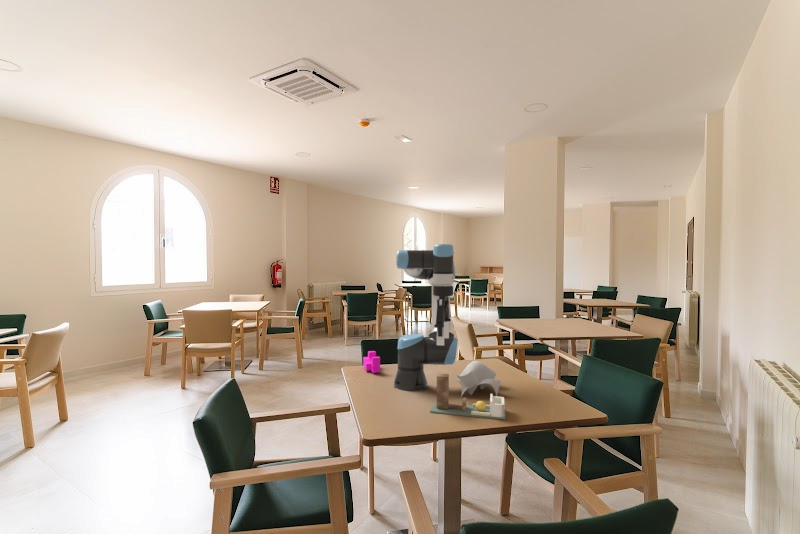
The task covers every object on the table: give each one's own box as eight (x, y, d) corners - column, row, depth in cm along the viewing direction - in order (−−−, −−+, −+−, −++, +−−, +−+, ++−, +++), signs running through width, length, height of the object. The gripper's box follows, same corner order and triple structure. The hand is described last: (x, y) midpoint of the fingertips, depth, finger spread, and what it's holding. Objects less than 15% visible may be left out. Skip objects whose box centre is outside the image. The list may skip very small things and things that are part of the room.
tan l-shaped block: (436, 408, 148) (436, 376, 148) (438, 403, 154) (438, 372, 153) (464, 411, 146) (464, 378, 145) (466, 406, 151) (466, 374, 151)
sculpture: (504, 399, 162) (505, 375, 162) (458, 398, 163) (458, 374, 163) (494, 380, 187) (494, 360, 187) (453, 379, 188) (453, 359, 188)
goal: (489, 416, 142) (489, 401, 142) (490, 407, 150) (490, 393, 150) (504, 417, 141) (504, 402, 141) (504, 408, 149) (504, 394, 149)
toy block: (363, 365, 213) (363, 351, 213) (374, 364, 215) (374, 350, 214) (367, 373, 199) (367, 358, 198) (380, 372, 200) (380, 357, 200)
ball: (475, 412, 146) (475, 402, 146) (475, 408, 149) (475, 399, 149) (485, 413, 145) (485, 403, 145) (485, 409, 148) (485, 400, 148)
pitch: (430, 412, 147) (430, 408, 147) (434, 403, 156) (434, 399, 156) (505, 419, 140) (505, 415, 140) (505, 410, 149) (505, 406, 149)
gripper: (449, 287, 136) (448, 349, 137) (456, 283, 161) (456, 335, 161) (427, 287, 138) (427, 348, 139) (438, 283, 162) (438, 335, 163)
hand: (443, 341), depth 150 cm, fingers open, 13 cm apart
